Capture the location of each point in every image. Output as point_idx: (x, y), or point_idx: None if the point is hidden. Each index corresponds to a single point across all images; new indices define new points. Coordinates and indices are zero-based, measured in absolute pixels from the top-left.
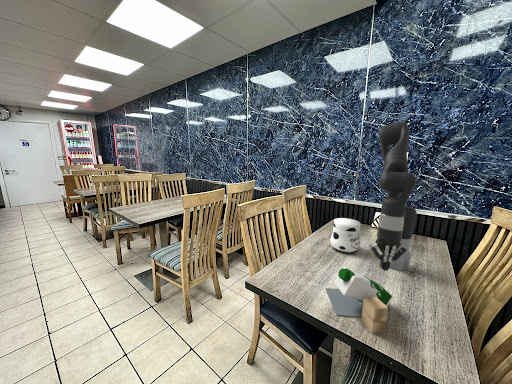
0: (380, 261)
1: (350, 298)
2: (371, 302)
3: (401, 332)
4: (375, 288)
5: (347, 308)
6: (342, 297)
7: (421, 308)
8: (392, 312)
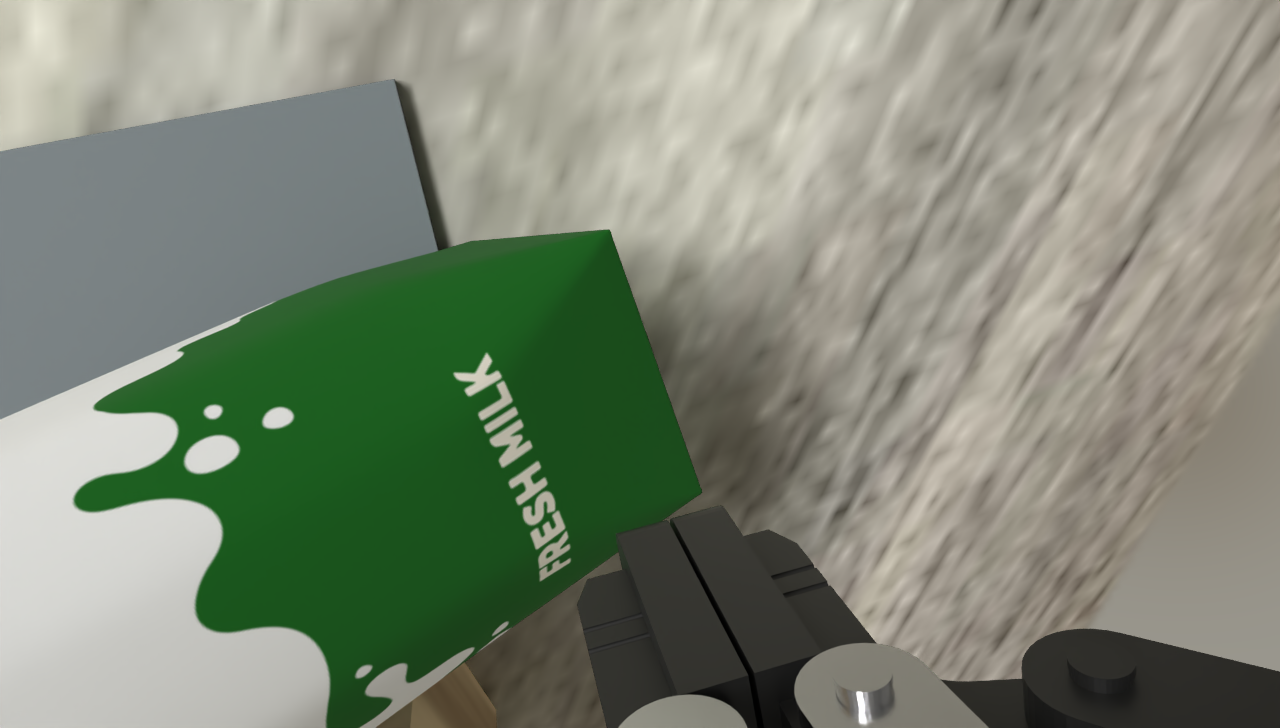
0: (601, 695)
1: None
2: None
3: None
4: (428, 675)
5: None
6: (54, 358)
7: (1021, 241)
8: None
